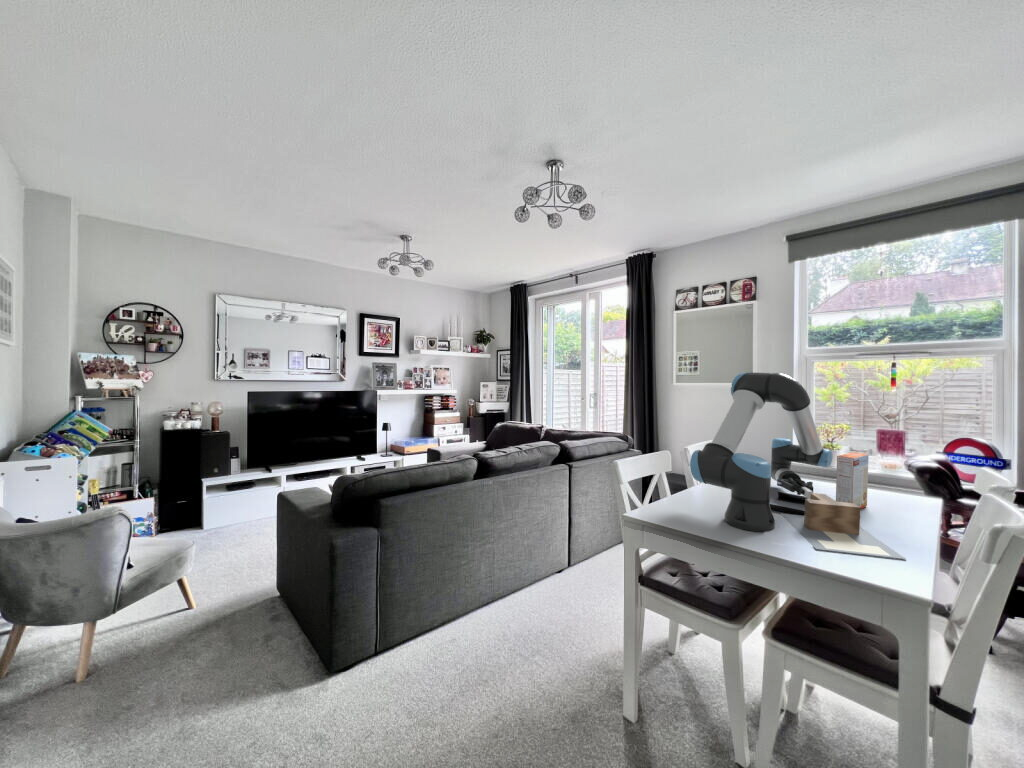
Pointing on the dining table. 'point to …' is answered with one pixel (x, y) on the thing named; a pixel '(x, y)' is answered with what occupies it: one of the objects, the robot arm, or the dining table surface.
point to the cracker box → (852, 478)
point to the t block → (831, 515)
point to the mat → (842, 540)
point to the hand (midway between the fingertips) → (810, 495)
